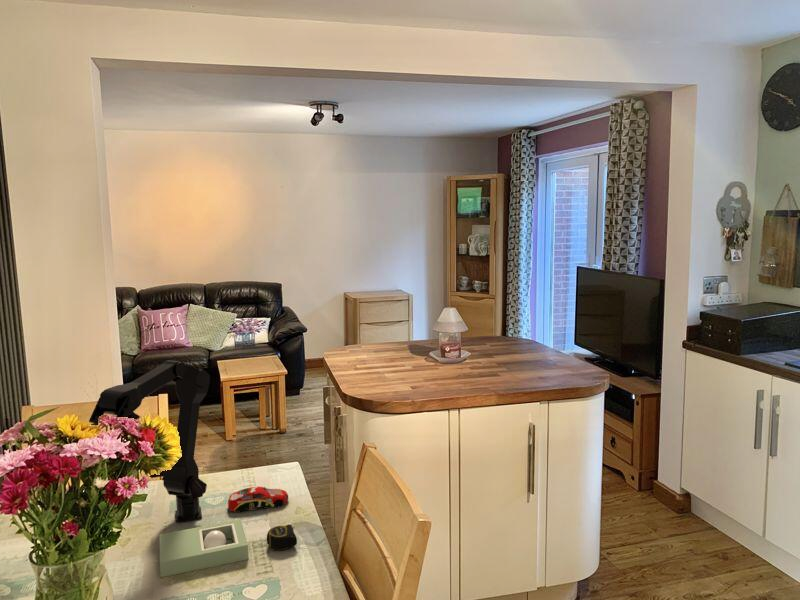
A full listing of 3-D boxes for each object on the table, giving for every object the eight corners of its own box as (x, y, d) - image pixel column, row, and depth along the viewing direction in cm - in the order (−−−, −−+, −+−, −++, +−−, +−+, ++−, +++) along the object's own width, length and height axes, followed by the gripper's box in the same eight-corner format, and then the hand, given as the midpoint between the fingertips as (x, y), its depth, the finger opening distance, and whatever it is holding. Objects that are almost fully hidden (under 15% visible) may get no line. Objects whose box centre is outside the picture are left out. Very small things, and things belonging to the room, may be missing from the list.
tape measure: (297, 550, 144) (297, 535, 143) (268, 555, 142) (267, 540, 141) (293, 536, 150) (293, 522, 150) (265, 540, 148) (265, 526, 148)
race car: (287, 496, 172) (287, 480, 172) (289, 507, 166) (289, 490, 165) (228, 504, 168) (227, 487, 167) (228, 515, 161) (227, 497, 161)
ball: (199, 534, 144) (218, 522, 145) (209, 550, 145) (228, 538, 147) (200, 544, 139) (220, 532, 141) (211, 561, 141) (230, 548, 142)
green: (160, 548, 145) (159, 534, 145) (241, 532, 152) (240, 519, 151) (160, 577, 133) (159, 562, 133) (248, 559, 140) (247, 544, 139)
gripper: (69, 462, 128) (75, 531, 130) (164, 449, 134) (168, 515, 136) (76, 444, 138) (81, 508, 140) (163, 433, 145) (167, 494, 147)
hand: (125, 507), depth 140 cm, fingers closed
